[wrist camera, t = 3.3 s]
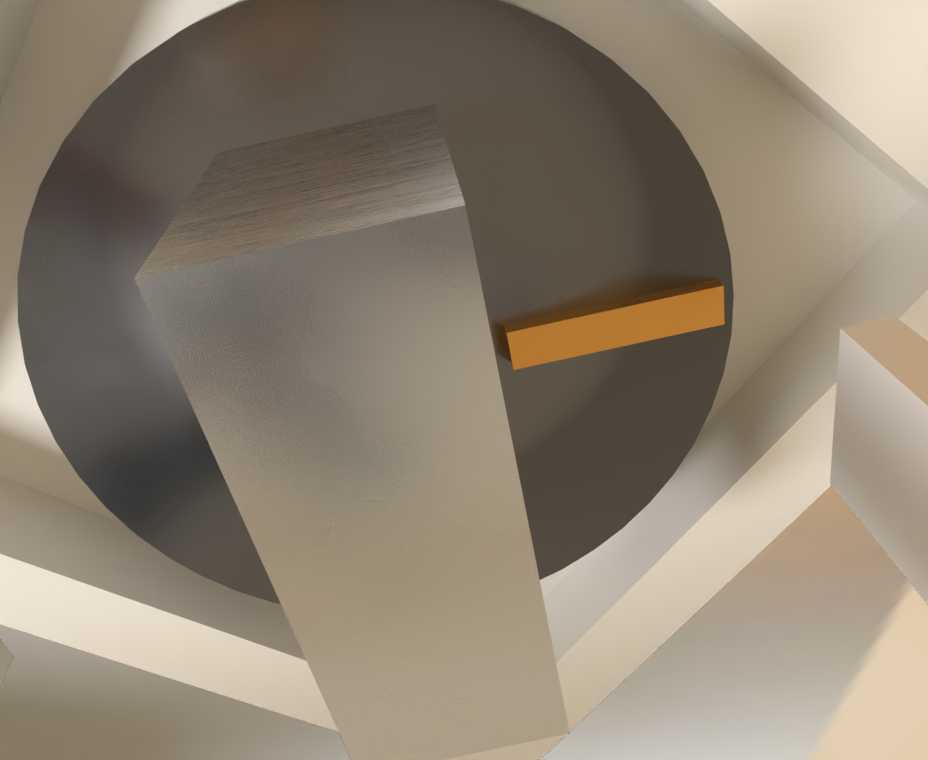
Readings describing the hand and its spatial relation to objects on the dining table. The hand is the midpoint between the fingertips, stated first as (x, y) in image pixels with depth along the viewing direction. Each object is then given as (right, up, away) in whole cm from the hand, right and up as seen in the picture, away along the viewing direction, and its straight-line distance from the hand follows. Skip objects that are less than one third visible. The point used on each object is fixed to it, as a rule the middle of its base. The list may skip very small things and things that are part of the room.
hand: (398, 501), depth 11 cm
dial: (-1, +3, +5) cm, 6 cm away
